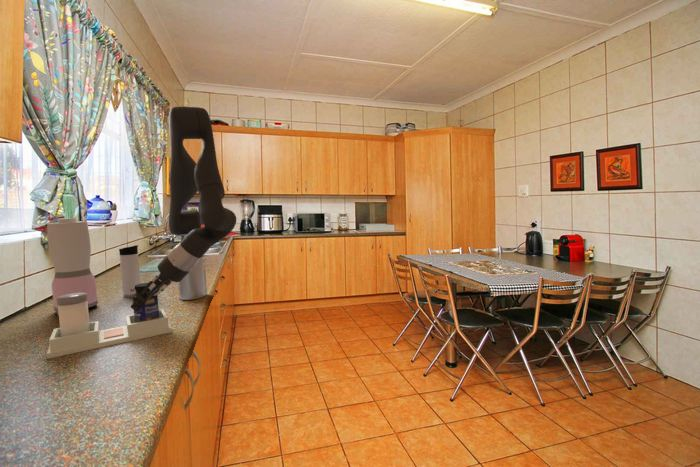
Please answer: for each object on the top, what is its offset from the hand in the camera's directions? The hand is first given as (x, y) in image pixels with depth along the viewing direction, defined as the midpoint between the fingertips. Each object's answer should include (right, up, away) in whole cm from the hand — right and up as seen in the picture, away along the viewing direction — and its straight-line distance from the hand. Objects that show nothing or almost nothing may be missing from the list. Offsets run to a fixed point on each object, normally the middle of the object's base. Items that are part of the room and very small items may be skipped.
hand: (139, 305), depth 101 cm
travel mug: (-27, -5, +41) cm, 50 cm away
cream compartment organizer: (-5, -8, -4) cm, 10 cm away
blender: (-37, -6, +26) cm, 45 cm away
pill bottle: (+2, -5, +1) cm, 6 cm away
